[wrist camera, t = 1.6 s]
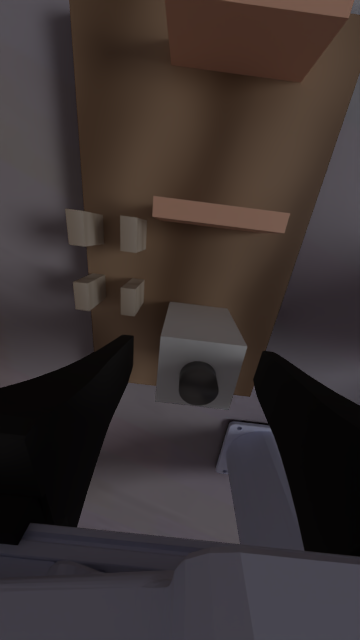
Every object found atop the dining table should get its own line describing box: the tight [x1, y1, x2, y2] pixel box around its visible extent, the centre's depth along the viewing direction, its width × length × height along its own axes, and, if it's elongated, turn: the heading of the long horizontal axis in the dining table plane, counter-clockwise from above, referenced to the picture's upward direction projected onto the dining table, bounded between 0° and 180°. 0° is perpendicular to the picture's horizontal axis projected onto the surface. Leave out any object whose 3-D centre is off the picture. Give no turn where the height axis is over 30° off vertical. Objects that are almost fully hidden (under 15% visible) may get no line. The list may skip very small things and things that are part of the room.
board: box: [65, 0, 360, 397], centre depth 12 cm, size 13×21×4 cm, turn 173°
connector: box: [155, 302, 247, 410], centre depth 12 cm, size 4×4×6 cm
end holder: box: [152, 0, 354, 233], centre depth 9 cm, size 6×7×3 cm
